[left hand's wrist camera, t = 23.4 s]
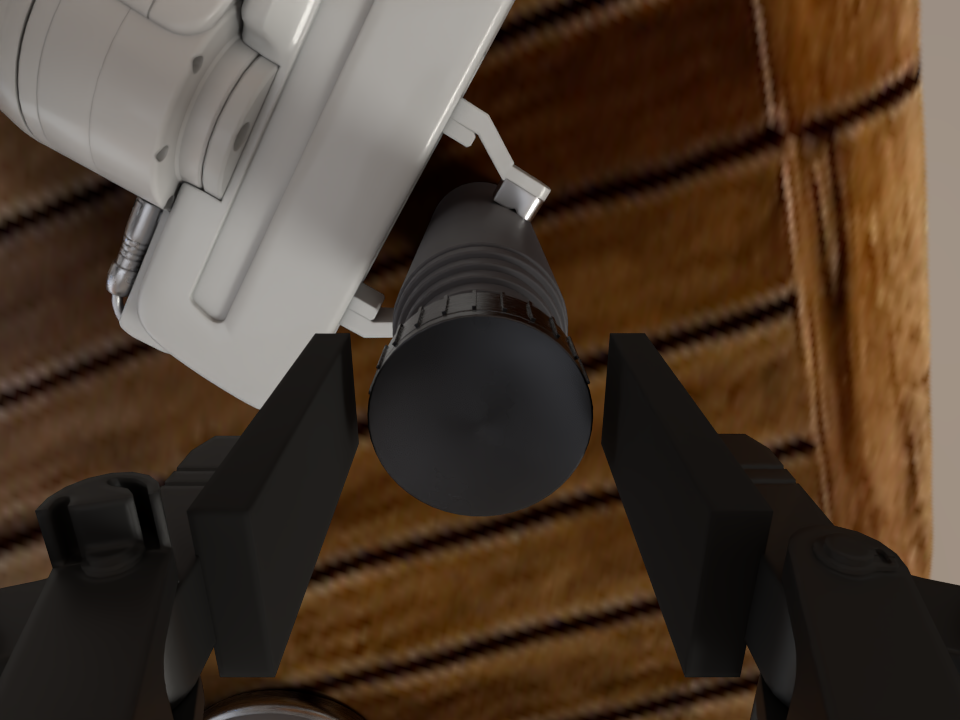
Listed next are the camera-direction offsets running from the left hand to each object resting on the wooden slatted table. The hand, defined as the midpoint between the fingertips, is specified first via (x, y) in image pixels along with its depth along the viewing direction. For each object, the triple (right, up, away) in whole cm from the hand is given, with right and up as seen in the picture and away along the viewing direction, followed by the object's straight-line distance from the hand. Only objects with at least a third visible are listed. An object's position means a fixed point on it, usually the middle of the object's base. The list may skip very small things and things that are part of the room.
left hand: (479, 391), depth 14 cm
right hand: (+1, +4, +12) cm, 13 cm away
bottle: (0, +7, +18) cm, 19 cm away
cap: (0, 0, -1) cm, 1 cm away
